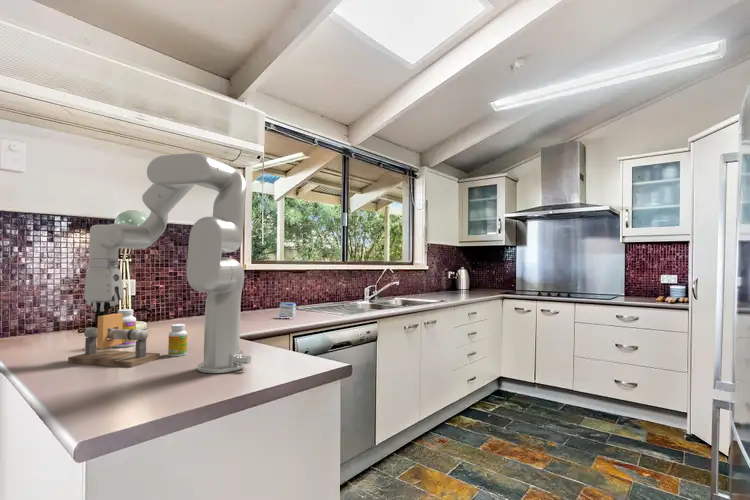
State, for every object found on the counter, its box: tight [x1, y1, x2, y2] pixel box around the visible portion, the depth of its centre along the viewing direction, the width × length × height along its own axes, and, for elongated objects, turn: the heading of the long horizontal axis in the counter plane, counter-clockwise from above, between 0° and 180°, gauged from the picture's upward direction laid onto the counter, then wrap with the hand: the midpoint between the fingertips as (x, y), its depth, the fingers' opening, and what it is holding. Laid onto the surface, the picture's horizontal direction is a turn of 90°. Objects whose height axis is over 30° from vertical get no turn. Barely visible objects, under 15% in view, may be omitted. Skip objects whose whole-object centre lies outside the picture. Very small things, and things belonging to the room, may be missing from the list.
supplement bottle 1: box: [113, 308, 137, 348], centre depth 141 cm, size 7×7×13 cm
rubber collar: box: [96, 312, 123, 349], centre depth 121 cm, size 2×7×9 cm, turn 168°
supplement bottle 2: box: [167, 323, 188, 357], centre depth 129 cm, size 5×5×10 cm
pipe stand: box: [67, 327, 161, 368], centre depth 120 cm, size 22×11×10 cm, turn 78°
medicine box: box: [278, 302, 297, 317], centre depth 215 cm, size 8×4×9 cm, turn 81°
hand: (101, 324), depth 122 cm, fingers closed
